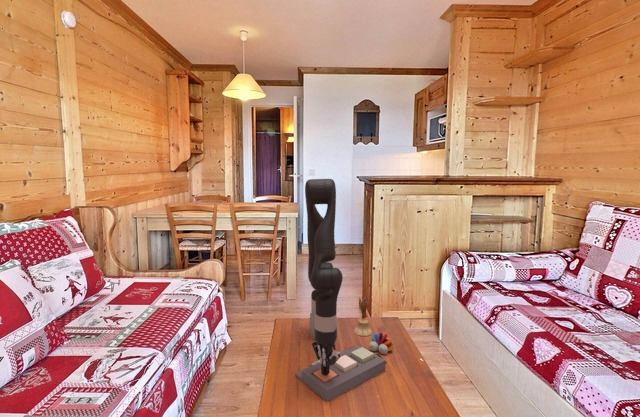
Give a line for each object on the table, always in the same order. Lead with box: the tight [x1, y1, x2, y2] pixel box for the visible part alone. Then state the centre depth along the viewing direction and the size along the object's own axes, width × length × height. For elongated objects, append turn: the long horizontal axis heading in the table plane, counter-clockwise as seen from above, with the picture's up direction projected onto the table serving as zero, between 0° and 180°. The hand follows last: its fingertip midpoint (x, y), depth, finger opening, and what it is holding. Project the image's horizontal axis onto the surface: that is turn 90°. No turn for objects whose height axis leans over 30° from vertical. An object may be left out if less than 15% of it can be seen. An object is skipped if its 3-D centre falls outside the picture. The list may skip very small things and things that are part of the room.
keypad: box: [294, 344, 387, 403], centre depth 127 cm, size 18×28×4 cm, turn 129°
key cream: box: [333, 355, 357, 373], centre depth 125 cm, size 6×6×2 cm
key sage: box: [351, 346, 375, 364], centre depth 130 cm, size 6×6×2 cm
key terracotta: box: [313, 369, 338, 383], centre depth 119 cm, size 6×6×2 cm
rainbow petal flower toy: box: [368, 331, 394, 355], centre depth 143 cm, size 8×10×7 cm
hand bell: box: [353, 297, 373, 337], centre depth 157 cm, size 8×8×16 cm
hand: (325, 373), depth 119 cm, fingers closed
